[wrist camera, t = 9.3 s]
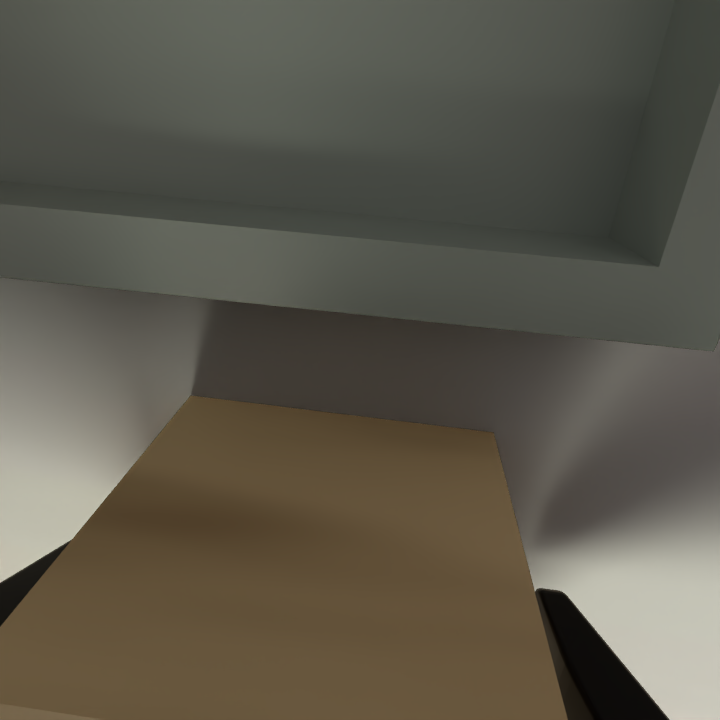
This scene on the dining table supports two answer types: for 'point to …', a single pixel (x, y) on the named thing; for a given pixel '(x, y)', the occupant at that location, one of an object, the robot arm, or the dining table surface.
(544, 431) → the dining table surface
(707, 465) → the dining table surface
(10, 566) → the dining table surface
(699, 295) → the tray
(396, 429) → the oak block
